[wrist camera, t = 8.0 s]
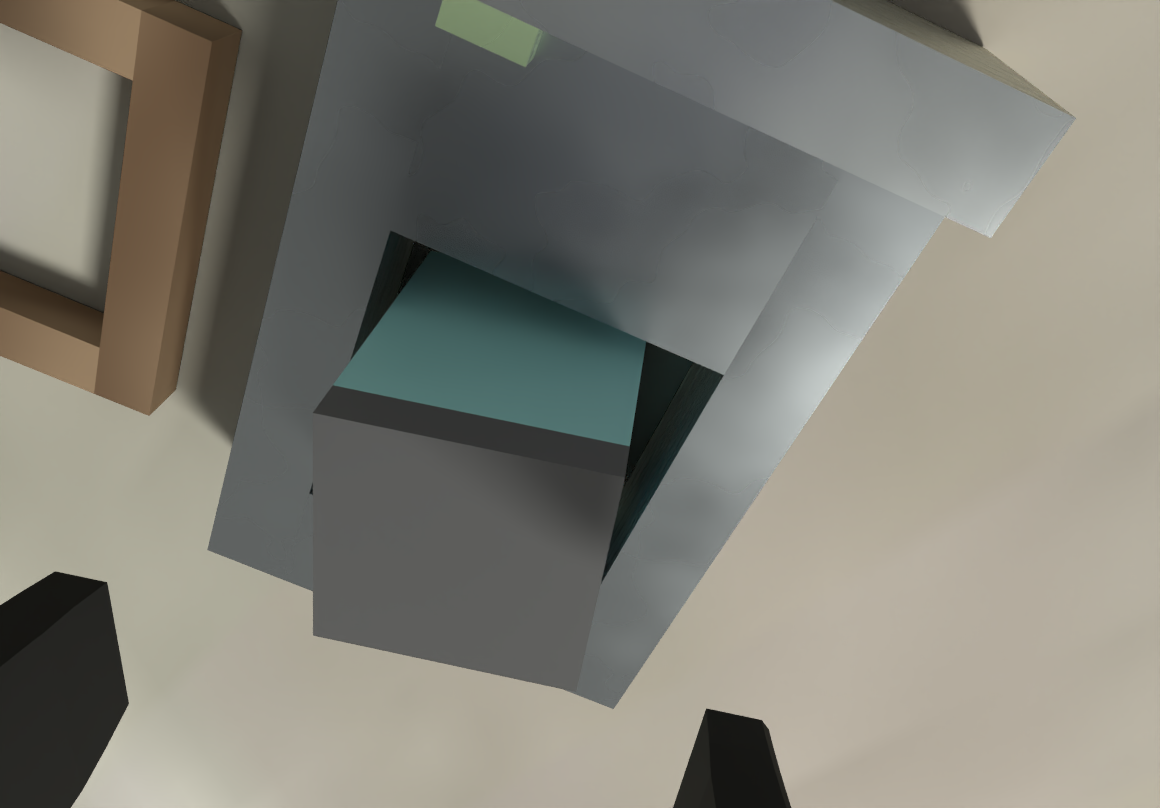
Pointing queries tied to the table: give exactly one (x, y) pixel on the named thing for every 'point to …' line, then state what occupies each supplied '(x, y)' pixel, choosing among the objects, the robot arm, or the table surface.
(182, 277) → the brown square frame
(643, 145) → the port
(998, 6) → the table surface
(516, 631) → the plug
